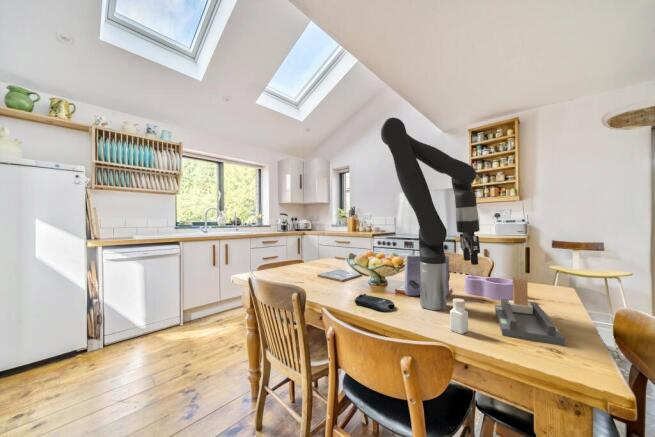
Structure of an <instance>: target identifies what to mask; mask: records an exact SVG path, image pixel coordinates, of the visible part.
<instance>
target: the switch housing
mask: <svg viewBox="0 0 655 437" xmlns="http://www.w3.org/2000/svg"><path fill="white" fill-rule="evenodd" d="M529 303H530V304H531V305H532V307H533V314H527V313H519V312H512V310H511V308H510V306H509V301H507V300H506V299H502V298H501V301H500V305H499V304H495V305H494V312H495V316H496V319H497V321H498V326H499V329H500V332H501V335H502V336H505V337H511V338H517V339H524V340H530V341H534V342H540V343H547V344H553V345H560V346H565V347H566V338H565V336H564V335H563V334H562V333H561V331H560V330H559V328H557V326H556V325H555V324H554V322H553V320H552V319H551V318H550V316H548V314H547V313H546V312H545V310H543V309H542V307H541V306H540V305H539V304H538V303H537V302H536V301H530V302H529Z"/></svg>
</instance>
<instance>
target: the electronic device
mask: <svg viewBox="0 0 655 437" xmlns="http://www.w3.org/2000/svg"><path fill="white" fill-rule="evenodd" d="M354 303H355V304H356V305H357V306H358V305H359V306H362V307H365V308H370V309H373V310H375V311H378V312H380V311H381V312H388V311H393V310H394V309H395V305H396V304H395V302H393V301H392V300H390V299H387V298H385V297H379V296H373V295H369V294H368V295H367V294H366V293H363V294H362V293H361V294H359V295H358V296H356V297H355V298H354ZM389 307H391V309H390V308H389Z"/></svg>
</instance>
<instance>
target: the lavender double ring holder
mask: <svg viewBox="0 0 655 437" xmlns="http://www.w3.org/2000/svg"><path fill="white" fill-rule="evenodd" d="M464 293H465V294H467V295H470V296H478V297H483V298H487V299H490V300H494V301H499V302H501V298H502V299H506V300H507V302H509V300H510V301H513V279H510V278H505V277H497V276H479V275H466V276H465V277H464Z"/></svg>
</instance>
